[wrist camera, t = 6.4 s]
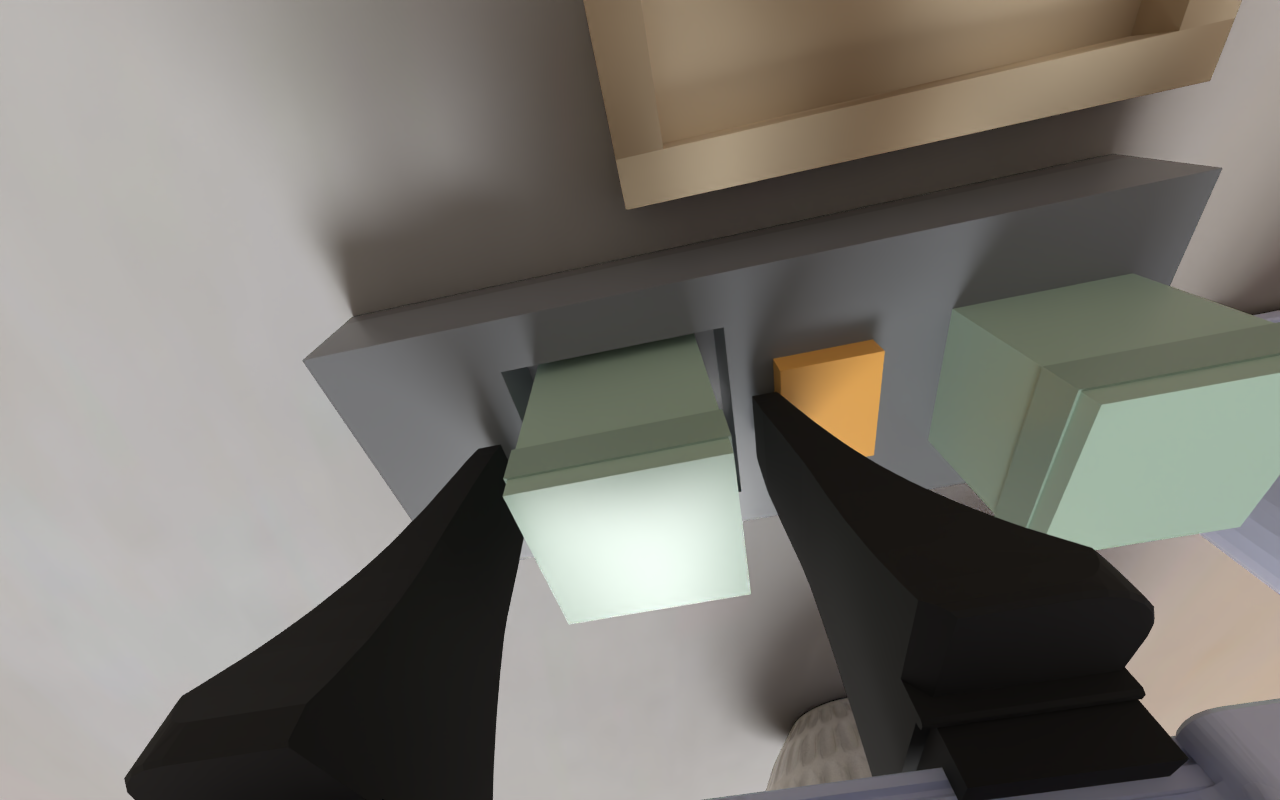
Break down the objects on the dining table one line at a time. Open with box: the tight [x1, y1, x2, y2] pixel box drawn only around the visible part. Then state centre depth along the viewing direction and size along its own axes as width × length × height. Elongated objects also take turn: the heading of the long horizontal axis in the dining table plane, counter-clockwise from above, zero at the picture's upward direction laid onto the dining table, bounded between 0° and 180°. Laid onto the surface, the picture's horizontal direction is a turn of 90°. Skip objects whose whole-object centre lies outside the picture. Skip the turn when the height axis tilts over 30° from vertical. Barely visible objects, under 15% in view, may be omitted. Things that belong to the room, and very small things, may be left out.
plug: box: [503, 333, 751, 624], centre depth 12 cm, size 4×4×6 cm
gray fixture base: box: [302, 154, 1280, 560], centre depth 12 cm, size 20×8×6 cm, turn 101°
